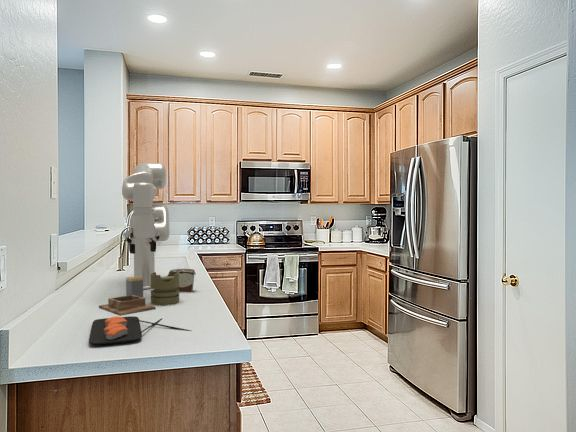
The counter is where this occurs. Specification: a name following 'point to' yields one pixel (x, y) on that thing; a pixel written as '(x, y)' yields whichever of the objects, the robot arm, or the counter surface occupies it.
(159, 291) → the piston
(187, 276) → the food container
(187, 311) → the counter surface
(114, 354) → the counter surface
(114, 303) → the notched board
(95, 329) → the sushi plate
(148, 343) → the counter surface
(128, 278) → the gold and gray block
